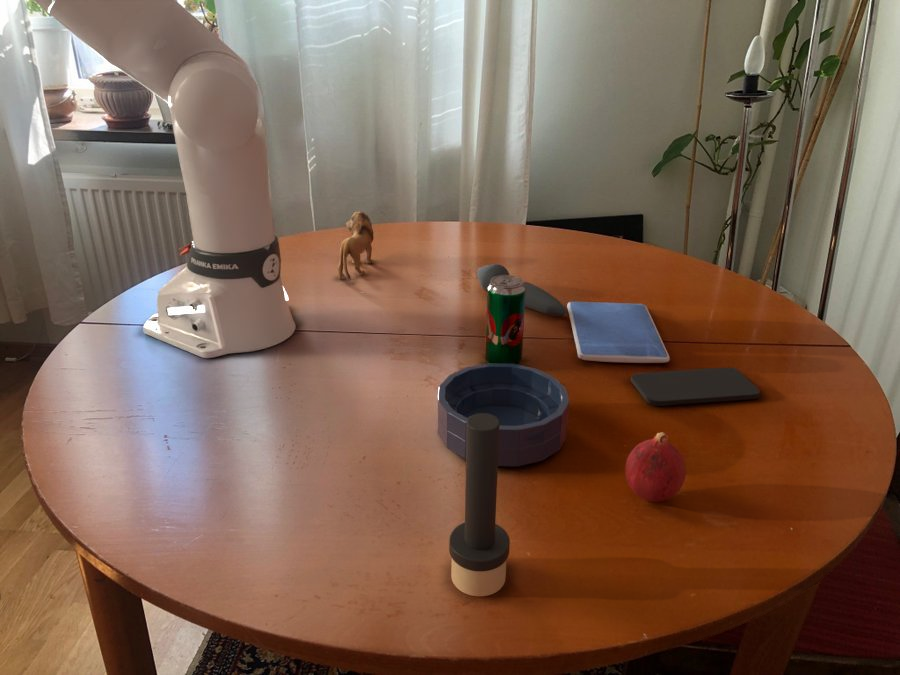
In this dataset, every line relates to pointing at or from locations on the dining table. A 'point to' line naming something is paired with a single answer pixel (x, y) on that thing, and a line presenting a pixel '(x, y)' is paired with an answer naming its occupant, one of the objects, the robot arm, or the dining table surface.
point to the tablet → (616, 333)
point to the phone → (694, 386)
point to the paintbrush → (534, 294)
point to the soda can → (505, 320)
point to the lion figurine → (356, 243)
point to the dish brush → (480, 515)
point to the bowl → (505, 410)
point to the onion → (655, 469)
